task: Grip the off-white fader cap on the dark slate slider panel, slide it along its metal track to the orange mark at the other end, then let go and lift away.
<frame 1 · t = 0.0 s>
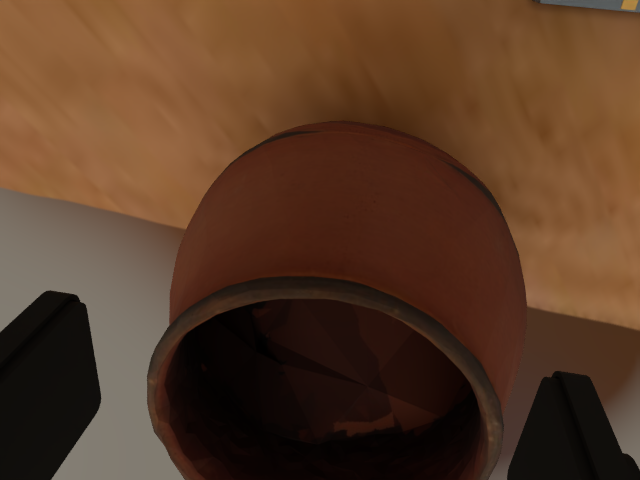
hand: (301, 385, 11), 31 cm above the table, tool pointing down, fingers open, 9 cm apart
goblet: (364, 191, 43), on the table
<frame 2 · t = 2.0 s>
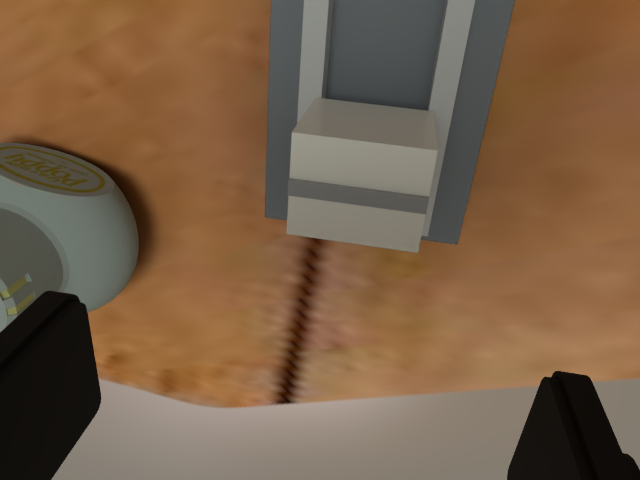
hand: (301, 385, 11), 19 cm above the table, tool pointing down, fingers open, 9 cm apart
air freshener: (75, 208, 33), on the table
fader cap: (364, 164, 22), point 7 cm above the table, slide at 8.0 cm
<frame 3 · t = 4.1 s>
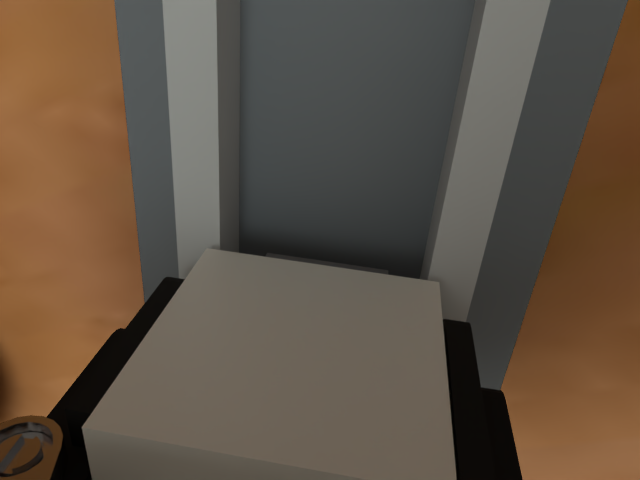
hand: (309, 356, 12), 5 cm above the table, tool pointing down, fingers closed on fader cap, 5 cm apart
fader cap: (299, 396, 11), point 7 cm above the table, slide at 8.0 cm, touching gripper
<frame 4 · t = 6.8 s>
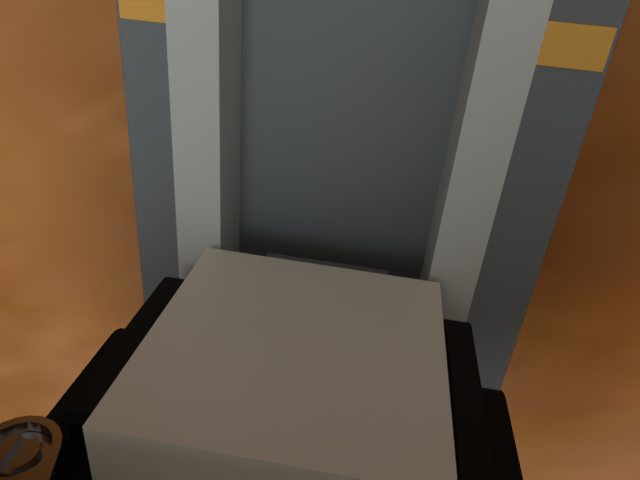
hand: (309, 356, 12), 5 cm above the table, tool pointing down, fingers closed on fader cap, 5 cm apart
slider panel: (334, 278, 17), on the table
fader cap: (299, 396, 11), point 7 cm above the table, slide at -1.4 cm, touching gripper
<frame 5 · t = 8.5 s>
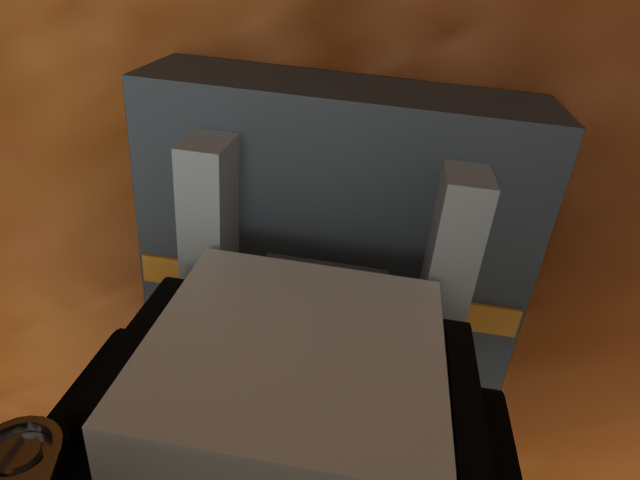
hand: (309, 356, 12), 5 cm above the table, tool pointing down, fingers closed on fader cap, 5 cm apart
slider panel: (318, 422, 20), on the table
fader cap: (299, 396, 11), point 7 cm above the table, slide at -8.0 cm, touching gripper
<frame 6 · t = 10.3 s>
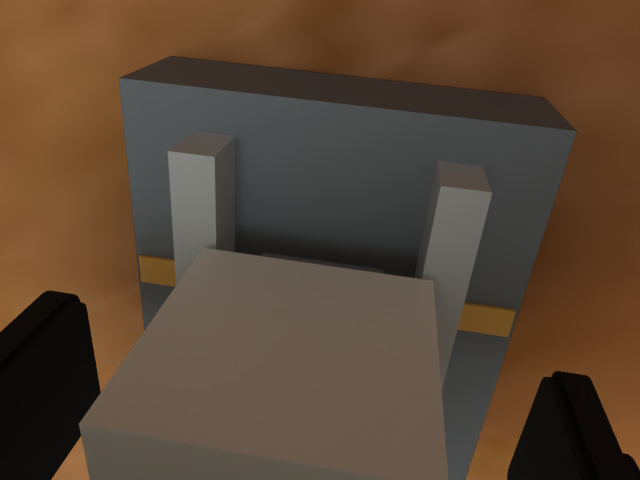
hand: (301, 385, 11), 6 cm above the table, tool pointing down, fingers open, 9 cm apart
slider panel: (315, 422, 20), on the table
fader cap: (294, 394, 11), point 7 cm above the table, slide at -8.0 cm
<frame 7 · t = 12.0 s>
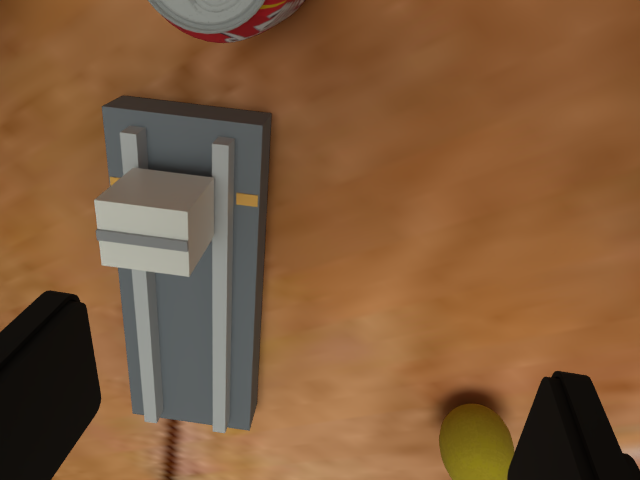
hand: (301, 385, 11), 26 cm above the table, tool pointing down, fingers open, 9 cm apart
slider panel: (199, 271, 41), on the table
lemon: (468, 406, 45), on the table
fader cap: (163, 215, 31), point 7 cm above the table, slide at -8.0 cm
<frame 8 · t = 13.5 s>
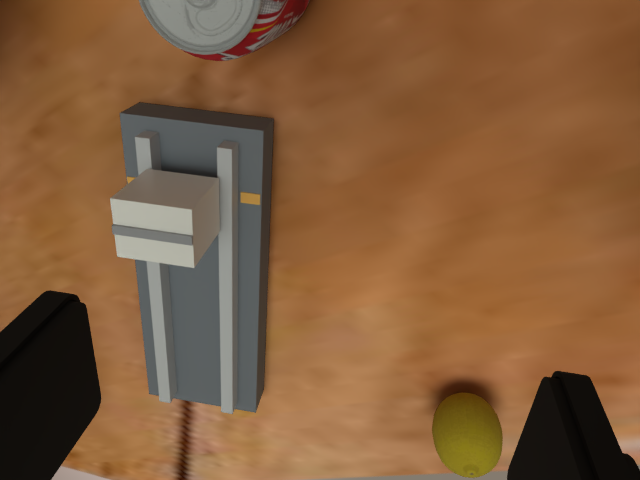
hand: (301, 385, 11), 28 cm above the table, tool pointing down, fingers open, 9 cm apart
slider panel: (209, 264, 44), on the table
lemon: (462, 395, 47), on the table
fader cap: (173, 212, 35), point 7 cm above the table, slide at -8.0 cm
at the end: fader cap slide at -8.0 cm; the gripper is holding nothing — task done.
